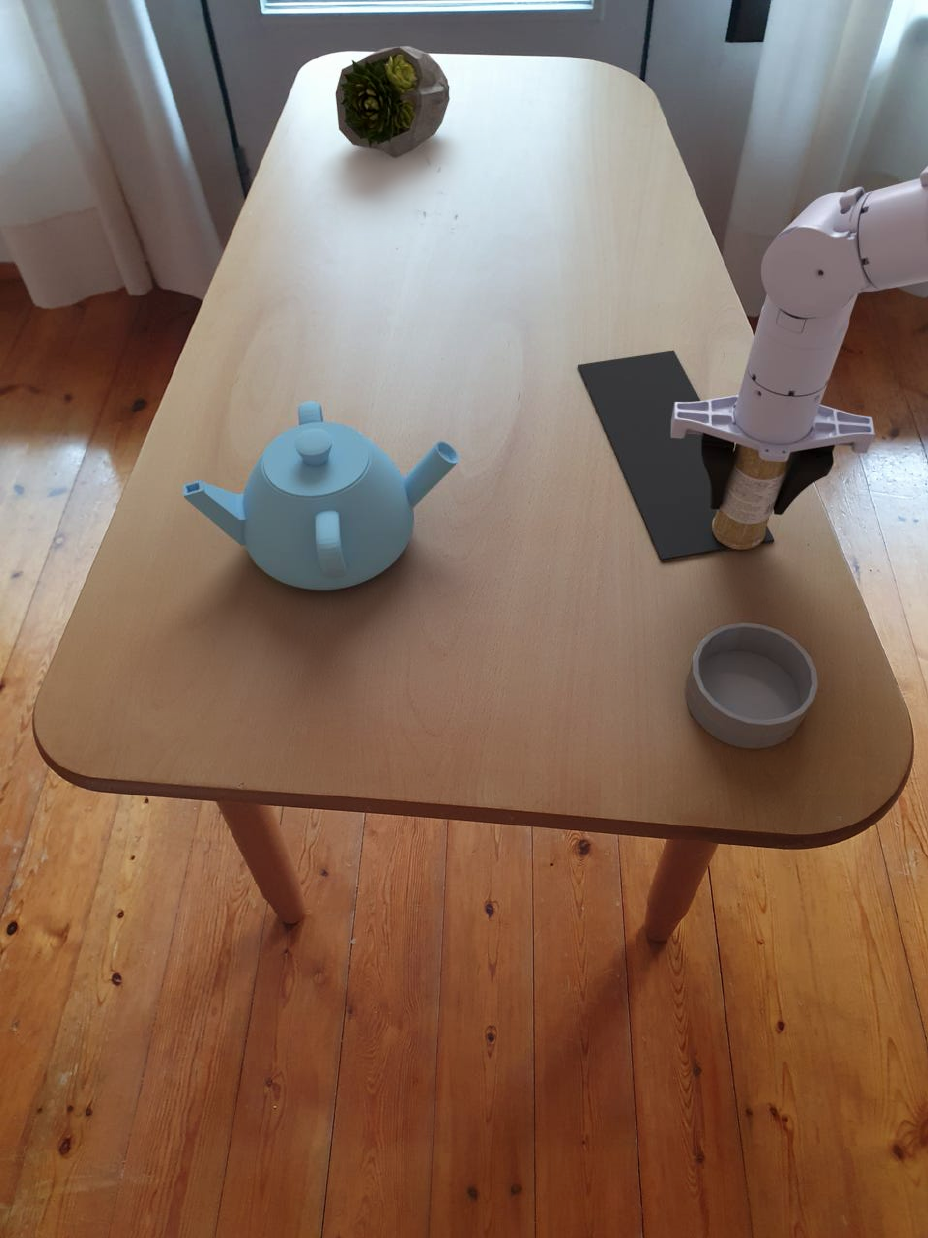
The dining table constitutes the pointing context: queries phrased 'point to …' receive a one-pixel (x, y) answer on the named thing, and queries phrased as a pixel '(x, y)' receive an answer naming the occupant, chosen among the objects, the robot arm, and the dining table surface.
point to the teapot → (323, 504)
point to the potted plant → (392, 100)
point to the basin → (750, 685)
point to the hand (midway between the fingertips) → (746, 503)
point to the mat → (657, 449)
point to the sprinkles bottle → (748, 499)
